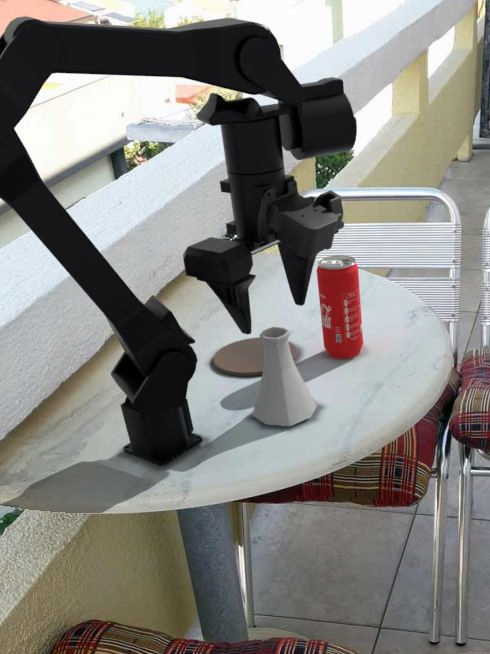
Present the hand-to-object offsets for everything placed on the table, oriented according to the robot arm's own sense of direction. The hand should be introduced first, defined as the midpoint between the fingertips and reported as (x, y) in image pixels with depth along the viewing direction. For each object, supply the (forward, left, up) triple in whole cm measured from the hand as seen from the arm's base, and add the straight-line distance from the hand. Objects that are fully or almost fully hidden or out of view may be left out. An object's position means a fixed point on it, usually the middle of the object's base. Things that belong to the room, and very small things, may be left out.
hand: (274, 318), depth 95 cm
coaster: (+9, +13, -11) cm, 19 cm away
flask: (-1, -1, -11) cm, 11 cm away
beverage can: (+16, +3, -11) cm, 20 cm away
